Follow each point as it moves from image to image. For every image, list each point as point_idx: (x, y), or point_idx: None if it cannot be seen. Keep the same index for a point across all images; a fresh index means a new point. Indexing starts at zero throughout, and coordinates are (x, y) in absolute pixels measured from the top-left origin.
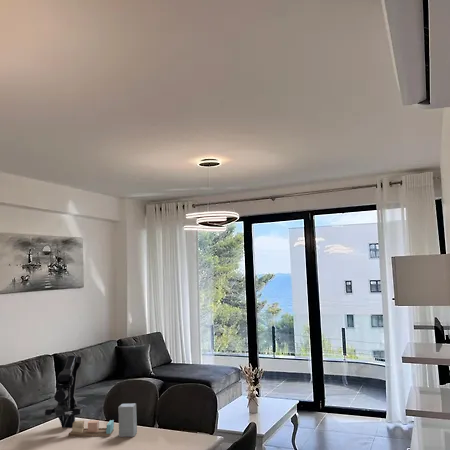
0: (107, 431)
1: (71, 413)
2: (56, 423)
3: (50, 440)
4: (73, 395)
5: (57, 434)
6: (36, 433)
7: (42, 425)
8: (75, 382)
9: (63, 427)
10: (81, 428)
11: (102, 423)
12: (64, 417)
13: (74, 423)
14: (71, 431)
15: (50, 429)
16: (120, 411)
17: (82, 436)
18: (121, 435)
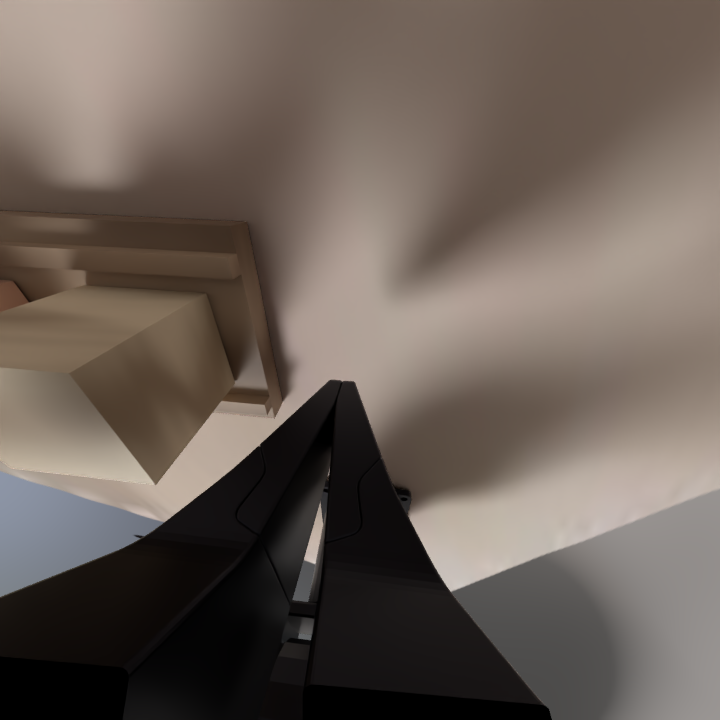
0: None
1: (67, 708)
2: (464, 550)
3: (508, 3)
4: None
5: (421, 348)
6: (665, 412)
7: (561, 543)
8: None
9: (334, 380)
10: (19, 306)
11: (170, 505)
12: (187, 575)
13: (39, 366)
14: (257, 360)
15: (504, 478)
16: None
17: (54, 214)
18: None
